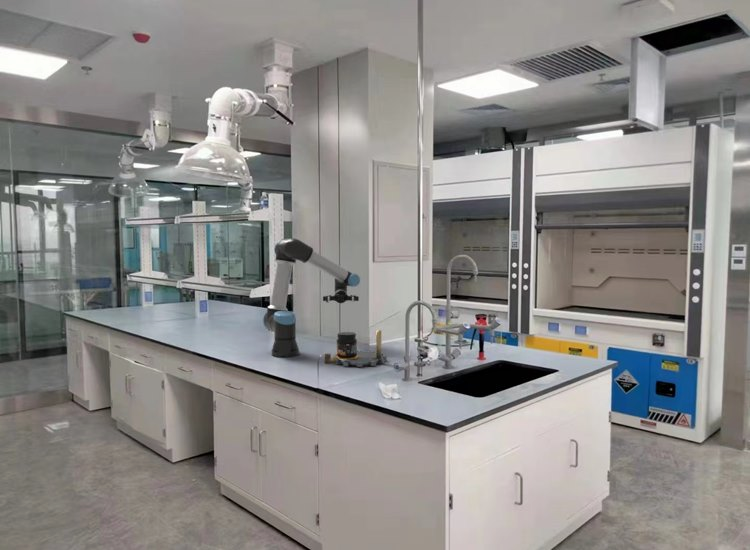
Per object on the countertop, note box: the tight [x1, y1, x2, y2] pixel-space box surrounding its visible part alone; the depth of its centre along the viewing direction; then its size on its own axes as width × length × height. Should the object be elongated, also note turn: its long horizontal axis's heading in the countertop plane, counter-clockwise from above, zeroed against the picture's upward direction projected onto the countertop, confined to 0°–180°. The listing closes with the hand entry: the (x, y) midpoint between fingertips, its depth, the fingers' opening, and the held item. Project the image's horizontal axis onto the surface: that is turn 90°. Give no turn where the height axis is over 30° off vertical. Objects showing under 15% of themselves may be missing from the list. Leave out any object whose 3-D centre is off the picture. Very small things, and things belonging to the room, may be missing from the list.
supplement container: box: [336, 331, 358, 358], centre depth 268 cm, size 10×10×12 cm
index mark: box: [324, 353, 332, 364], centre depth 267 cm, size 3×4×4 cm
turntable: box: [332, 329, 387, 368], centre depth 268 cm, size 28×28×16 cm
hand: (340, 300), depth 288 cm, fingers open, 13 cm apart
